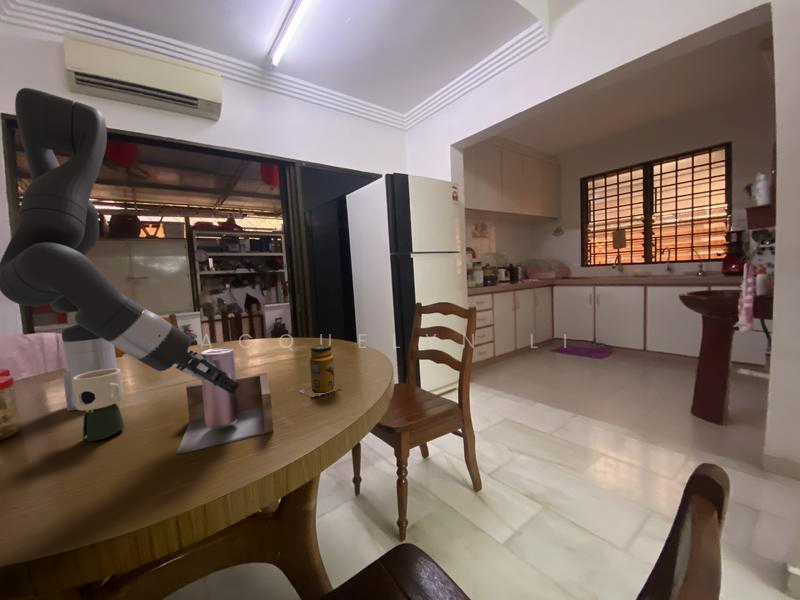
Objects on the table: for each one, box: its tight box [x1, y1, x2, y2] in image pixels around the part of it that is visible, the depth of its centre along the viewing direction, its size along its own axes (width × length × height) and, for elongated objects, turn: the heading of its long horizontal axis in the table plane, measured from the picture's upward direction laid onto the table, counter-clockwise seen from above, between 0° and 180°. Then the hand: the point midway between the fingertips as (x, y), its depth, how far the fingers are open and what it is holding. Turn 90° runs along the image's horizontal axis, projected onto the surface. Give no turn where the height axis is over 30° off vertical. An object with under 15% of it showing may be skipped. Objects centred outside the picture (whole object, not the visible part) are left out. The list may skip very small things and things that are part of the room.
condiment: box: [299, 344, 336, 397], centre depth 85 cm, size 7×8×12 cm
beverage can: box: [200, 347, 239, 429], centre depth 65 cm, size 6×6×15 cm
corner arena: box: [177, 372, 274, 455], centre depth 67 cm, size 16×15×8 cm
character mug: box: [72, 368, 125, 442], centre depth 65 cm, size 11×7×13 cm, turn 73°
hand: (228, 385), depth 66 cm, fingers closed on beverage can, 5 cm apart
